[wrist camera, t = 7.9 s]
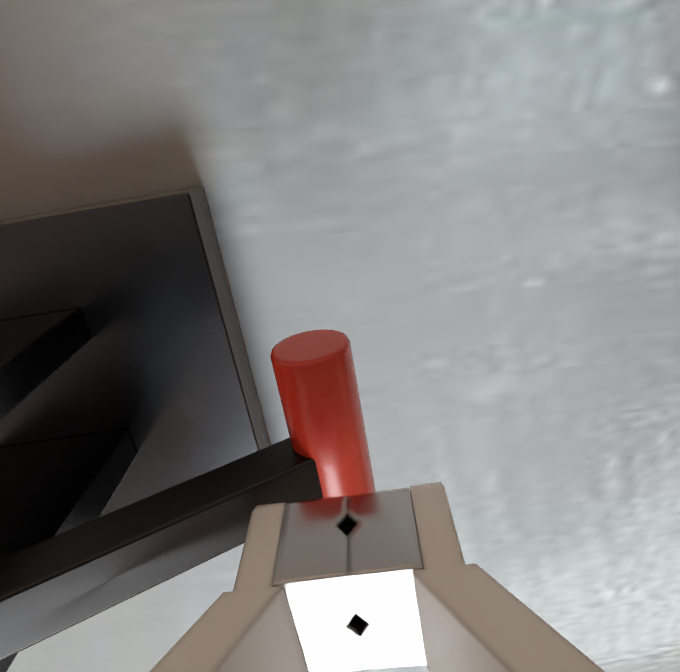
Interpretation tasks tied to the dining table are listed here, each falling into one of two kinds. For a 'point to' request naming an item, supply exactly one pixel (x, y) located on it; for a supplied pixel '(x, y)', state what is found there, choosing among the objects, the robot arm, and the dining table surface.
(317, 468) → the lever
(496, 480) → the dining table surface
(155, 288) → the bracket
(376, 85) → the dining table surface
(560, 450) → the dining table surface
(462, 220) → the dining table surface
